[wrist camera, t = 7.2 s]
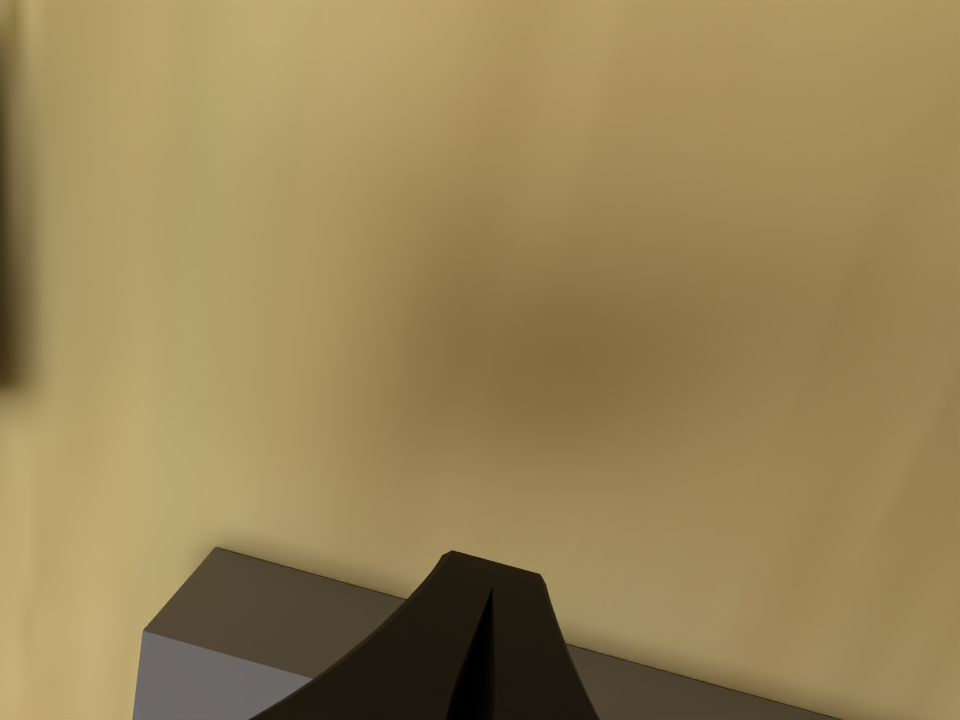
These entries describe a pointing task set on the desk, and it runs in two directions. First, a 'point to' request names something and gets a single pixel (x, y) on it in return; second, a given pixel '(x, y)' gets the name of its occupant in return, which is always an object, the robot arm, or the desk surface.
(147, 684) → the grey slotted tray
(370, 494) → the desk surface
